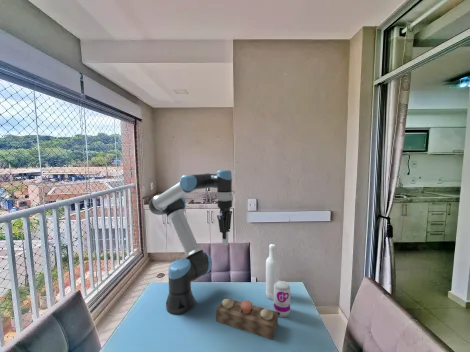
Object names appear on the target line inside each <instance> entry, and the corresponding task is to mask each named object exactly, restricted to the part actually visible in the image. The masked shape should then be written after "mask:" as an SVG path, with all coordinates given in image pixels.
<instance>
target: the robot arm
mask: <svg viewBox="0 0 470 352" xmlns="http://www.w3.org/2000/svg"><path fill="white" fill-rule="evenodd" d="M232 176H233V175H232V171H231V170H229V169H228V170H227V169H226V170H225V169H220V170H217V171H216V173H206V172H205V173H200V174H186V175H182V176H181V177H180V179H179V182H177V183H176V184H175V185H173V186H171V187H170V188H168V189H166V190H165V191H164V192H162V193H160V194H156V195H155V196H153V197H151V199H150V200H149V201H148V209H149V211H150V212H151V213H152V214H154V215H157V216H162V215H166V217H167V218H168V219H170V220H171V222H172V225H173V227H174V230H175V231H176V234H177V237H178V239H179V241H180V244H181V246H182V249H183V252H184V254H185V255H184V256H185V257H184V258H181V259H180V258H179V259H176V260H174V261H173V262H172V263H171V262H170V264H169V267H168V272H167V276H168V295H167V299H166V301H165V308H166V311H167V312H168V313H170V314H173V315H179V314H181V315H182V314H185V313H187V312H189V311H190V310H191V309H193V308H194V306H195V297H194V295H193V294H194V293H193V292H192V282H194V281H196V280H198V279H200V278H201V277H203V276H205V275H207V274H208V273H209V272H210V271H211V269H212V266H213V264H212V263H213V261H212V257H211V255H210V254H209V253H207V252H204V250H203V249H202V248H200V247H199V245H198V243H197V240H196V238H195V236H194V233H193V231H192V229H191V227H190V224H189V222H188V220H187V217H186V215H185V211H186V209H185V208H186V206H187V205H186V204H187V203H186V199H185V197H184V196H186V195H188V194H191V192H193V191H197V190H201V189H209V188H210V189H211V188H215V189H217V191H216V192H217V194H216V195H217V197H216V199H217V208H219V214H217V215H216V216H217V220H218V227H219V233H221V235H222V236H221V238H222V246H228V245H229V232H230V233H231V227H232V226H231V225H232V215H233V211H232V210H231V208H232V207H233V200H232V199H233V193H232V192H233V189H232V187H233V186H232V184H233V183H232V182H233V177H232Z"/></svg>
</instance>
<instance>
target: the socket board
mask: <svg viewBox="0 0 470 352" xmlns="http://www.w3.org/2000/svg"><path fill="white" fill-rule="evenodd" d="M225 299H229V298H228V297H224V299H223V300H225ZM232 300H233V307H232V308H231V309H225V308H223V306H222V302H221V303H219V305H218V306H217V307H216V309H215V321H216V322H218V323H220V324H221V323H222V324H224V325H226V326H229V327H233V328H236V329H239V330H242V331H245V332H248V333H251V334H254V335H257V336H260V337H263V338H265V339H270V340H273V339H274V336H275V333H276V330H277V327H278V324H279V320H278V319H279V316H278V312H276V311H274V310H271V309H270V310H271V311H272V312H273V318H272V319H271V321H266V320H263V319H262V318H261V311H262V310H263V309H266V308H264V307H261V306H257V305H253V304H252V309H251V310H250V315H248V314H244V313H243V310H242V309H241V302H242V301H239V300H235V299H232Z"/></svg>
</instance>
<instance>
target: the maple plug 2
mask: <svg viewBox="0 0 470 352" xmlns="http://www.w3.org/2000/svg"><path fill="white" fill-rule="evenodd" d="M272 311H273V310H272ZM272 311H271V309H268V308H265V309H263V310H262V311H261V318H262V319H263V320H266V321H271V319H272V318H273V312H272Z"/></svg>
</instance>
